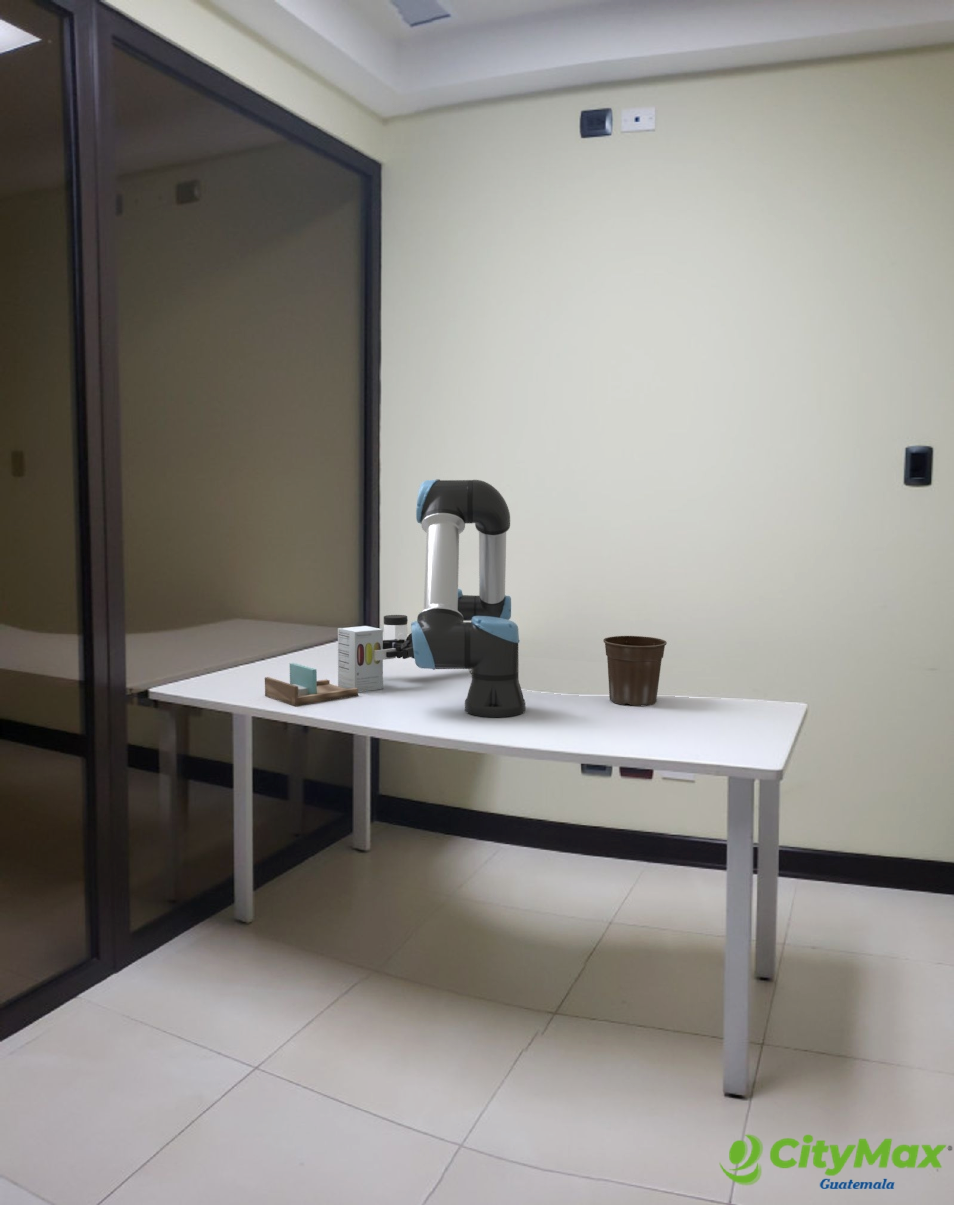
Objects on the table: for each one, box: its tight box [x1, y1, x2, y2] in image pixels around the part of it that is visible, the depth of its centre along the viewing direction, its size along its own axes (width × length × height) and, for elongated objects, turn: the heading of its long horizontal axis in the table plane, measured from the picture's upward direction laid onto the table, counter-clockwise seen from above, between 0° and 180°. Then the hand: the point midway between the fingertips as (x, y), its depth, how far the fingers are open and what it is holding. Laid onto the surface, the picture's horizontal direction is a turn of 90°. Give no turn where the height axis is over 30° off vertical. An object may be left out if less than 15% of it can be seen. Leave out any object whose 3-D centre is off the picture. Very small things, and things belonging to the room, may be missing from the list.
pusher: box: [289, 662, 318, 696], centre depth 249 cm, size 4×12×7 cm, turn 40°
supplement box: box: [337, 625, 384, 693], centre depth 260 cm, size 10×9×17 cm
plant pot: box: [603, 635, 668, 707], centre depth 245 cm, size 16×16×16 cm
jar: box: [383, 614, 408, 640], centre depth 322 cm, size 9×8×12 cm
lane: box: [264, 676, 359, 707], centre depth 251 cm, size 19×16×5 cm
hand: (361, 652), depth 261 cm, fingers open, 13 cm apart
